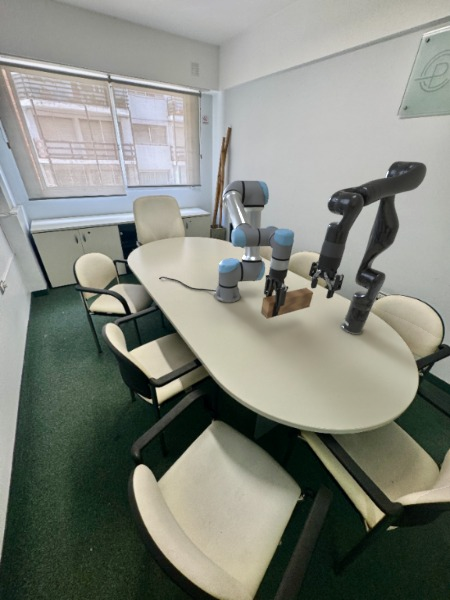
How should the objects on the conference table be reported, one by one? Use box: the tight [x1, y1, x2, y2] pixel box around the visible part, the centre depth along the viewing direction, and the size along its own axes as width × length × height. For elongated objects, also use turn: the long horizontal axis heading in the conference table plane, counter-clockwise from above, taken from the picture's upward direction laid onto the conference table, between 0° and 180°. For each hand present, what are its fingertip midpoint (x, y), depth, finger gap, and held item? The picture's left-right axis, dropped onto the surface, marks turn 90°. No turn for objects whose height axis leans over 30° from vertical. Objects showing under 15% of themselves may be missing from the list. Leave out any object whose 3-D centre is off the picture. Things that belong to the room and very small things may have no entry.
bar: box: [260, 287, 314, 320], centre depth 115 cm, size 26×5×8 cm, turn 116°
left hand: (271, 312), depth 114 cm, fingers closed on bar, 5 cm apart
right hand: (320, 292), depth 94 cm, fingers open, 8 cm apart
